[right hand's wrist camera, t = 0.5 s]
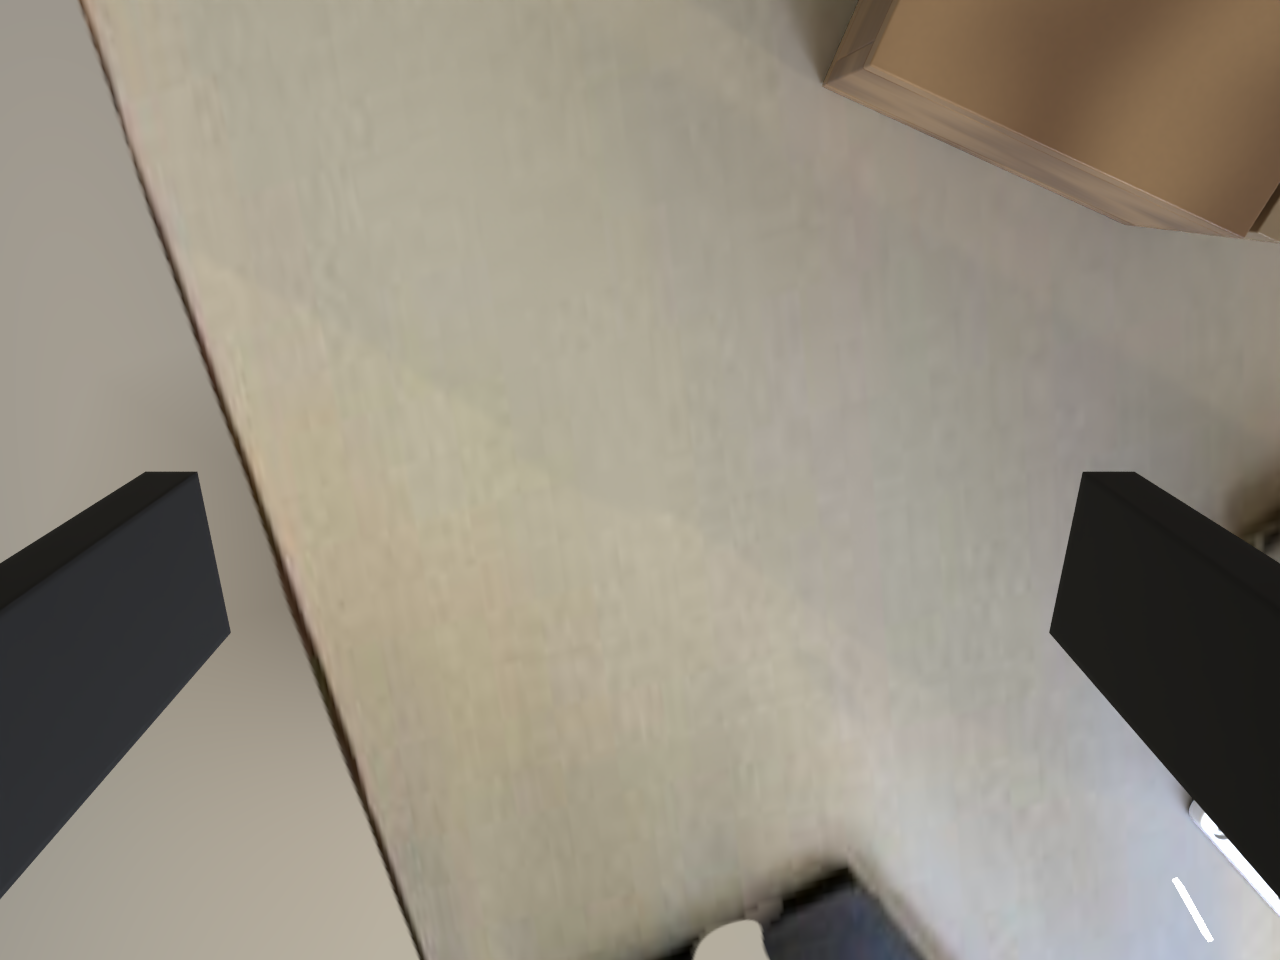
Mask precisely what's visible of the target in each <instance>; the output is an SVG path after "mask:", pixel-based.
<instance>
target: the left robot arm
mask: <svg viewBox="0 0 1280 960" xmlns="http://www.w3.org/2000/svg"><path fill="white" fill-rule="evenodd" d="M1189 815H1190V817H1191V819H1192V820H1193V821H1194V822H1195V823H1196V825H1197V826H1198V827H1199V828H1200V829H1201V830H1202V831H1203V832H1204V833H1205V834H1206V836H1207V837H1208V838H1209V839H1210V840H1211V841H1212V842H1213V843H1214V844H1215V846H1216V847H1217V848H1218V849H1219V850H1220V851H1221V852H1222V853H1223V854H1224V856H1225V857H1226V858H1227V859H1228V860H1229V861H1230V862H1231V863H1232V864H1233V866H1234V867H1235V868H1236V869H1237V870H1238V871H1239V872H1240V873H1241V874H1242V876H1243V877H1244V878H1245V879H1246V880H1247V881H1248V882H1249V883H1250V884H1251V886H1252V887H1253V888H1254V889H1255V890H1256V891H1257V892H1258V893H1259V894H1260V896H1261V897H1262V898H1263V899H1264V900H1265V901H1266V902H1267V903H1268V904H1269V905H1270V907H1271V908H1272V909H1273V910H1274V911H1275V912H1276V913H1277V914H1278V915H1279V917H1280V899H1279V897H1278V896H1277V895H1276V894H1275V893H1274V892H1273V891H1272V889H1271V888H1270V887H1269V886H1268V885H1267V884H1266V882H1265V881H1264V880H1263V879H1262V878H1261V877H1260V876H1259V874H1258V873H1257V872H1256V871H1255V870H1254V869H1253V867H1252V866H1251V865H1250V864H1249V863H1248V862H1247V860H1246V859H1245V858H1244V857H1243V856H1242V855H1241V854H1240V852H1239V851H1238V850H1237V849H1236V848H1235V847H1234V845H1233V844H1232V843H1231V842H1230V841H1229V840H1228V839H1227V837H1226V836H1225V835H1224V834H1223V833H1222V832H1221V830H1220V829H1219V828H1218V827H1217V826H1216V825H1215V824H1214V822H1213V821H1212V820H1211V819H1210V818H1209V817H1208V815H1207V814H1206V813H1205V812H1204V811H1203V810H1202V809H1201V807H1200V806H1199V805H1198V804H1197V803H1196V802H1195V800H1193V802H1192V804H1191V806H1190V808H1189ZM1172 880H1173V882H1174V884H1175V886H1176V887H1177V889H1178V891H1179V893H1180V895H1181V896H1182V898H1183V900H1184V902H1185V904H1186V905H1187V907H1188V909H1189V911H1190V912H1191V914H1192V916H1193V918H1194V920H1195V921H1196V923H1197V925H1198V927H1199V929H1200V930H1201V932H1202V934H1203V935H1204V936H1205V938H1206V939H1207V940H1208V942H1210V941H1212V940H1213V938H1212V936H1211V935H1210V933H1209V931H1208V929H1207V927H1206V926H1205V924H1204V922H1203V920H1202V918H1201V917H1200V915H1199V913H1198V911H1197V909H1196V908H1195V906H1194V904H1193V902H1192V900H1191V899H1190V897H1189V895H1188V893H1187V891H1186V890H1185V888H1184V886H1183V885H1182V883H1181V882H1180V881H1179V879H1178V878H1175V879H1172Z"/></svg>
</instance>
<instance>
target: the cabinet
mask: <svg viewBox="0 0 1280 960" xmlns="http://www.w3.org/2000/svg"><path fill="white" fill-rule="evenodd" d="M822 86H823V87H824V88H827V89H829V90H831V91H833V92H835V93H838V94H840V95H842V96H844V97H846V98H849V99H851V100H853V101H855V102H857V103H859V104H862V105H864V106H866V107H868V108H870V109H873V110H875V111H877V112H879V113H881V114H884V115H886V116H888V117H890V118H892V119H895V120H897V121H899V122H901V123H903V124H905V125H908V126H910V127H912V128H914V129H916V130H919V131H921V132H923V133H925V134H927V135H930V136H932V137H934V138H936V139H938V140H941V141H943V142H945V143H947V144H949V145H952V146H954V147H956V148H958V149H960V150H962V151H965V152H967V153H969V154H971V155H973V156H976V157H978V158H980V159H982V160H984V161H987V162H989V163H991V164H993V165H995V166H998V167H1000V168H1002V169H1004V170H1006V171H1008V172H1011V173H1013V174H1015V175H1017V176H1019V177H1022V178H1024V179H1026V180H1028V181H1030V182H1033V183H1035V184H1037V185H1039V186H1041V187H1044V188H1046V189H1048V190H1050V191H1052V192H1054V193H1057V194H1059V195H1061V196H1063V197H1065V198H1068V199H1070V200H1072V201H1074V202H1076V203H1079V204H1081V205H1083V206H1085V207H1087V208H1090V209H1092V210H1094V211H1096V212H1098V213H1100V214H1103V215H1105V216H1107V217H1109V218H1111V219H1114V220H1116V221H1118V222H1120V223H1122V224H1125V225H1131V226H1140V227H1149V228H1157V229H1165V230H1174V231H1182V232H1191V233H1199V234H1207V235H1216V236H1226V237H1232V238H1241V239H1243V238H1245V236H1246V235H1247V233H1248V232H1249V230H1250V229H1251V227H1252V225H1253V224H1254V222H1255V221H1256V219H1257V217H1258V216H1259V214H1260V213H1261V211H1262V210H1263V208H1264V206H1265V205H1266V203H1267V202H1268V200H1269V199H1270V197H1271V195H1272V194H1273V192H1274V191H1275V189H1276V188H1277V186H1278V184H1279V183H1280V0H859V1H858V3H857V6H856V8H855V10H854V13H853V15H852V17H851V19H850V22H849V24H848V26H847V29H846V31H845V33H844V36H843V38H842V40H841V43H840V45H839V47H838V50H837V52H836V54H835V56H834V59H833V61H832V63H831V66H830V68H829V70H828V73H827V75H826V77H825V80H824V82H823V84H822Z"/></svg>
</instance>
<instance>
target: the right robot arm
mask: <svg viewBox="0 0 1280 960" xmlns="http://www.w3.org/2000/svg"><path fill="white" fill-rule="evenodd" d="M1049 633H1050V634H1051V635H1052V636H1053V638H1054V639H1055V640H1056V641H1057V642H1058V643H1059V644H1060V646H1061V647H1062V648H1063V649H1064V650H1065V651H1066V653H1067V654H1068V655H1069V656H1070V657H1071V658H1072V659H1073V661H1074V662H1075V663H1076V664H1077V665H1078V666H1079V668H1080V669H1081V670H1082V671H1083V672H1084V673H1085V674H1086V676H1087V677H1088V678H1089V679H1090V680H1091V681H1092V683H1093V684H1094V685H1095V686H1096V687H1097V688H1098V690H1099V691H1100V692H1101V693H1102V694H1103V695H1104V696H1105V698H1106V699H1107V700H1108V701H1109V702H1110V703H1111V705H1112V706H1113V707H1114V708H1115V709H1116V710H1117V711H1118V713H1119V714H1120V715H1121V716H1122V717H1123V718H1124V720H1125V721H1126V722H1127V723H1128V724H1129V725H1130V726H1131V728H1132V729H1133V730H1134V731H1135V732H1136V733H1137V735H1138V736H1139V737H1140V738H1141V739H1142V740H1143V742H1144V743H1145V744H1146V745H1147V746H1148V747H1149V748H1150V750H1151V751H1152V752H1153V753H1154V754H1155V755H1156V757H1157V758H1158V759H1159V760H1160V761H1161V762H1162V763H1163V765H1164V766H1165V767H1166V768H1167V769H1168V770H1169V772H1170V773H1171V774H1172V775H1173V776H1174V777H1175V778H1176V780H1177V781H1178V782H1179V783H1180V784H1181V785H1182V787H1183V788H1184V789H1185V790H1186V791H1187V792H1188V793H1189V795H1190V796H1191V797H1192V798H1193V799H1194V800H1195V802H1196V803H1197V804H1198V805H1199V806H1200V807H1201V809H1202V810H1203V811H1204V812H1205V813H1206V814H1207V815H1208V817H1209V818H1210V819H1211V820H1212V821H1213V822H1214V824H1215V825H1216V826H1217V827H1218V828H1219V829H1220V830H1221V832H1222V833H1223V834H1224V835H1225V836H1226V837H1227V839H1228V840H1229V841H1230V842H1231V843H1232V844H1233V845H1234V847H1235V848H1236V849H1237V850H1238V851H1239V852H1240V854H1241V855H1242V856H1243V857H1244V858H1245V859H1246V860H1247V862H1248V863H1249V864H1250V865H1251V866H1252V867H1253V869H1254V870H1255V871H1256V872H1257V873H1258V874H1259V876H1260V877H1261V878H1262V879H1263V880H1264V881H1265V882H1266V884H1267V885H1268V886H1269V887H1270V888H1271V889H1272V891H1273V892H1274V893H1275V894H1276V895H1277V896H1278V897H1279V899H1280V563H1278V562H1277V561H1275V560H1274V559H1272V558H1270V557H1269V556H1267V555H1266V554H1264V553H1262V552H1261V551H1259V550H1258V549H1256V548H1254V547H1253V546H1251V545H1250V544H1248V543H1247V542H1245V541H1243V540H1242V539H1240V538H1239V537H1237V536H1235V535H1234V534H1232V533H1231V532H1229V531H1228V530H1226V529H1224V528H1223V527H1221V526H1220V525H1218V524H1216V523H1215V522H1213V521H1212V520H1210V519H1209V518H1207V517H1205V516H1204V515H1202V514H1201V513H1199V512H1197V511H1196V510H1194V509H1193V508H1191V507H1190V506H1188V505H1186V504H1185V503H1183V502H1182V501H1180V500H1178V499H1177V498H1175V497H1174V496H1172V495H1170V494H1169V493H1167V492H1166V491H1164V490H1163V489H1161V488H1159V487H1158V486H1156V485H1155V484H1153V483H1151V482H1150V481H1148V480H1147V479H1145V478H1144V477H1142V476H1140V475H1139V474H1137V473H1136V472H1083V473H1082V478H1081V483H1080V488H1079V492H1078V497H1077V502H1076V507H1075V512H1074V516H1073V521H1072V526H1071V531H1070V536H1069V540H1068V545H1067V550H1066V555H1065V560H1064V564H1063V569H1062V574H1061V579H1060V584H1059V588H1058V593H1057V598H1056V603H1055V608H1054V612H1053V617H1052V622H1051V627H1050V632H1049ZM229 634H230V627H229V622H228V617H227V613H226V608H225V603H224V598H223V593H222V588H221V584H220V579H219V574H218V569H217V564H216V560H215V555H214V550H213V545H212V540H211V536H210V531H209V526H208V521H207V516H206V512H205V507H204V502H203V497H202V493H201V488H200V483H199V478H198V473H197V472H144V473H143V474H141V475H140V476H138V477H136V478H135V479H133V480H132V481H130V482H129V483H127V484H125V485H124V486H122V487H121V488H119V489H117V490H116V491H114V492H113V493H111V494H110V495H108V496H106V497H105V498H103V499H102V500H100V501H98V502H97V503H95V504H94V505H92V506H90V507H89V508H87V509H86V510H84V511H83V512H81V513H79V514H78V515H76V516H75V517H73V518H72V519H70V520H68V521H67V522H65V523H64V524H62V525H60V526H59V527H57V528H56V529H54V530H53V531H51V532H49V533H48V534H46V535H45V536H43V537H41V538H40V539H38V540H37V541H35V542H33V543H32V544H30V545H29V546H27V547H25V548H24V549H22V550H21V551H19V552H18V553H16V554H14V555H13V556H11V557H10V558H8V559H6V560H5V561H3V562H2V563H0V899H1V897H2V896H3V895H4V894H5V893H6V892H7V891H8V889H9V888H10V887H11V886H12V885H13V884H14V882H15V881H16V880H17V879H18V878H19V877H20V876H21V874H22V873H23V872H24V871H25V870H26V868H27V867H28V866H29V865H30V864H31V863H32V862H33V860H34V859H35V858H36V857H37V856H38V855H39V854H40V852H41V851H42V850H43V849H44V848H45V847H46V845H47V844H48V843H49V842H50V841H51V840H52V839H53V837H54V836H55V835H56V834H57V833H58V832H59V830H60V829H61V828H62V827H63V826H64V825H65V824H66V822H67V821H68V820H69V819H70V818H71V817H72V815H73V814H74V813H75V812H76V811H77V810H78V809H79V807H80V806H81V805H82V804H83V803H84V801H85V800H86V799H87V798H88V797H89V796H90V795H91V793H92V792H93V791H94V790H95V789H96V788H97V787H98V785H99V784H100V783H101V782H102V781H103V780H104V778H105V777H106V776H107V775H108V774H109V773H110V772H111V770H112V769H113V768H114V767H115V766H116V765H117V763H118V762H119V761H120V760H121V759H122V758H123V757H124V755H125V754H126V753H127V752H128V751H129V750H130V748H131V747H132V746H133V745H134V744H135V743H136V741H137V740H138V739H139V738H140V737H141V736H142V734H143V733H144V732H145V731H146V730H147V729H148V728H149V726H150V725H151V724H152V723H153V722H154V721H155V720H156V718H157V717H158V716H159V715H160V714H161V713H162V711H163V710H164V709H165V708H166V707H167V706H168V705H169V703H170V702H171V701H172V700H173V699H174V698H175V696H176V695H177V694H178V693H179V692H180V691H181V689H182V688H183V687H184V686H185V685H186V684H187V683H188V681H189V680H190V679H191V678H192V677H193V676H194V674H195V673H196V672H197V671H198V670H199V669H200V668H201V666H202V665H203V664H204V663H205V662H206V661H207V659H208V658H209V657H210V656H211V655H212V654H213V652H214V651H215V650H216V649H217V648H218V647H219V646H220V644H221V643H222V642H223V641H224V640H225V639H226V637H227V636H228V635H229Z"/></svg>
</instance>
